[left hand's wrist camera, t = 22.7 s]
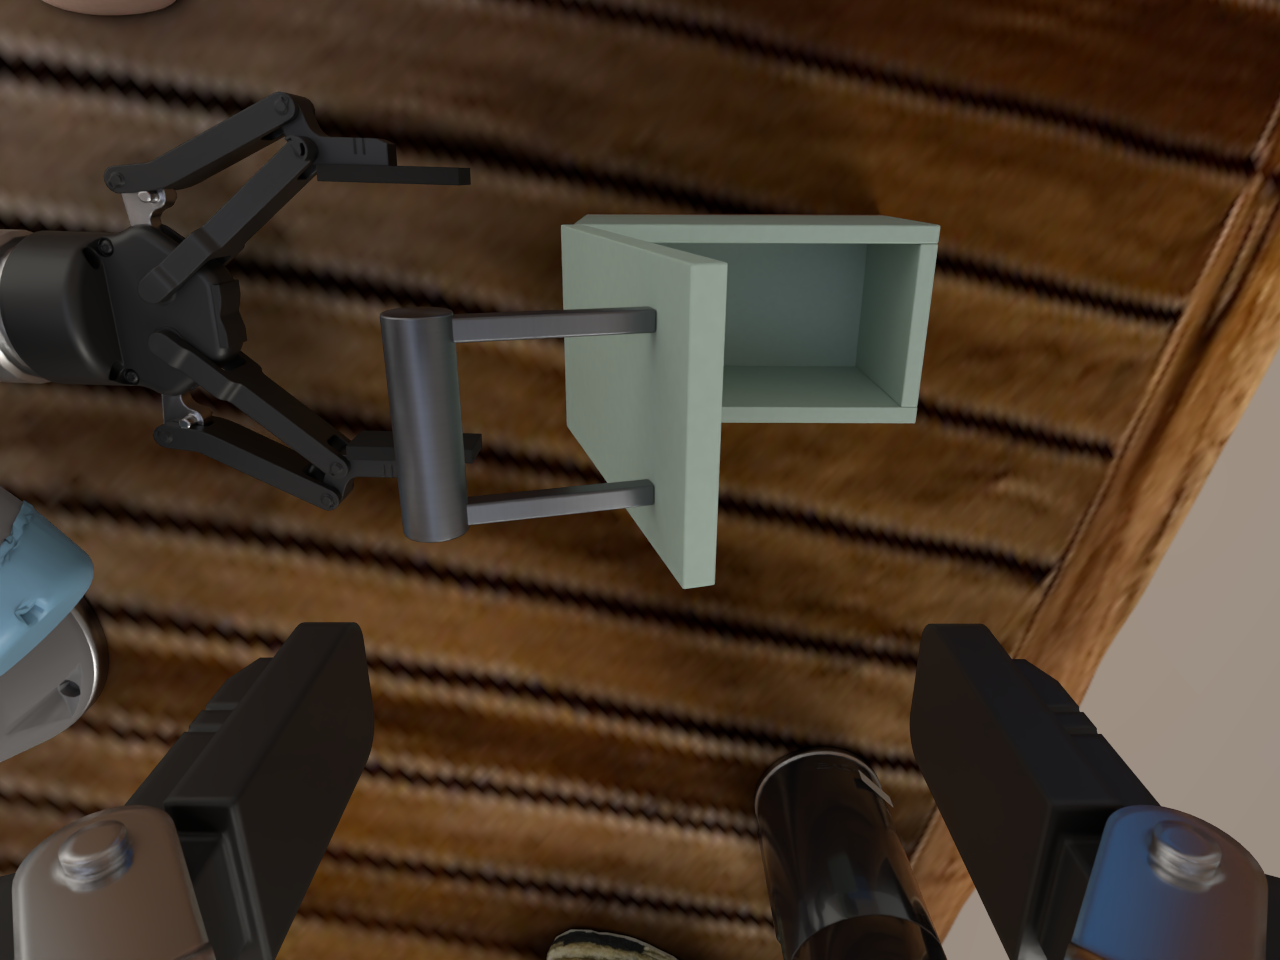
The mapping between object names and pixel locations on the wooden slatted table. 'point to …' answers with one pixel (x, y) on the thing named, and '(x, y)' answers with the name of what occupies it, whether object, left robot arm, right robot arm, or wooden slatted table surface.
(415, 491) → the lid
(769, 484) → the wooden slatted table surface
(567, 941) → the fossil
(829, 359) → the chest
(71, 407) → the wooden slatted table surface
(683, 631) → the wooden slatted table surface
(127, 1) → the anatomical model
